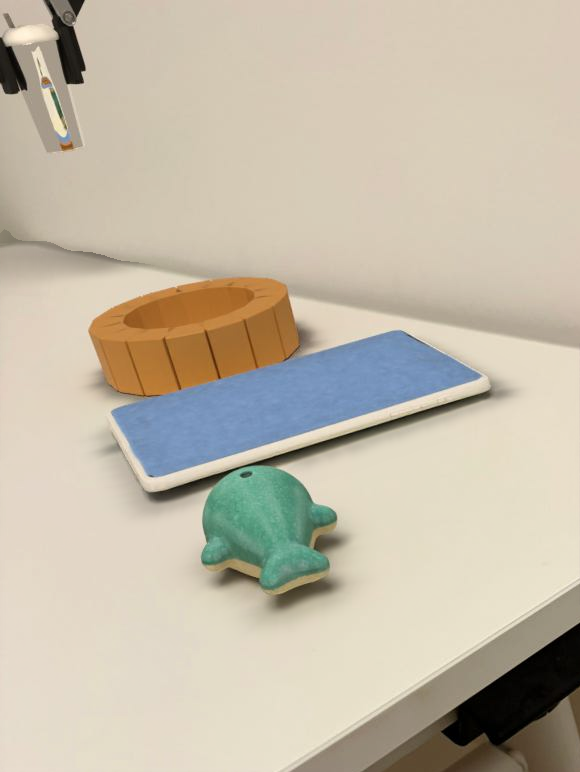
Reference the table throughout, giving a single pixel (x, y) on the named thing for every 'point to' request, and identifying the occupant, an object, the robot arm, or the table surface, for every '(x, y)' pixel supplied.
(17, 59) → the milkshake
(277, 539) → the whale figurine
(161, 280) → the table surface
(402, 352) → the tablet
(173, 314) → the segmented bracelet
